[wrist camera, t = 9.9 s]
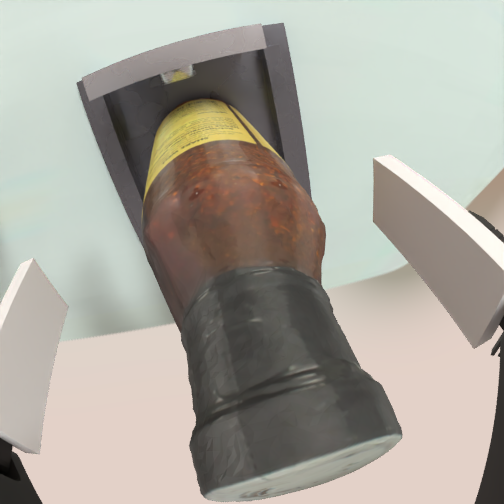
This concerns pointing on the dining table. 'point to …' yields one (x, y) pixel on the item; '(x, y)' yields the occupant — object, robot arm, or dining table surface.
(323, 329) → the sauce bottle
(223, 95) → the clip holder
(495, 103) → the dining table surface
